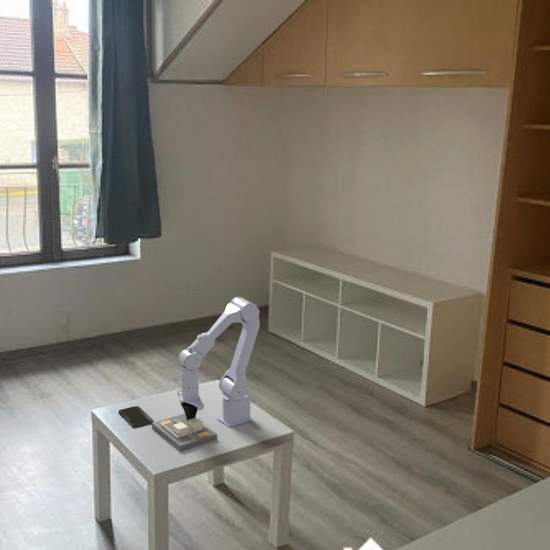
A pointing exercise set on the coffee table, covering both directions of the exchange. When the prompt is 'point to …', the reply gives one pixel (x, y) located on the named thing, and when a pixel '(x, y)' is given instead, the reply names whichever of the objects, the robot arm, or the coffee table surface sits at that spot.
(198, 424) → the tab
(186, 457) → the coffee table surface
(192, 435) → the switch board
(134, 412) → the phone
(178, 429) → the tab
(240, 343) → the robot arm
